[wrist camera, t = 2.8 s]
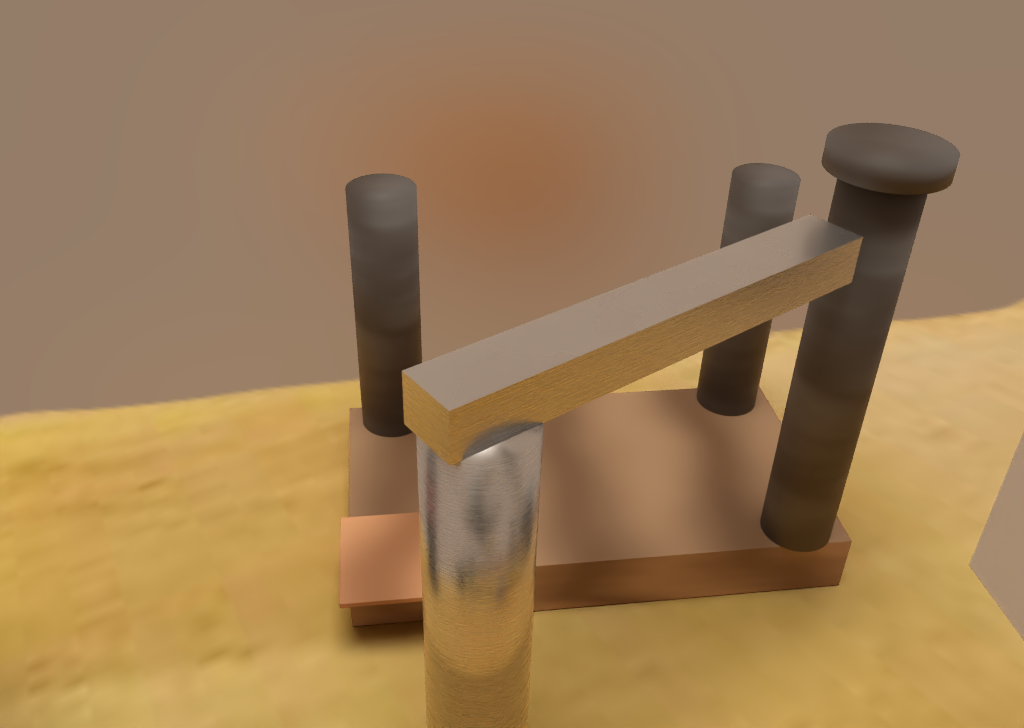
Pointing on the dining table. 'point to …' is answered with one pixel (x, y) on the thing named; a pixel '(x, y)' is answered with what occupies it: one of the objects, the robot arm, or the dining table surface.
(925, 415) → the dining table surface
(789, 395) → the wooden base with rods
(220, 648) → the dining table surface
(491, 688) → the hinged leg
